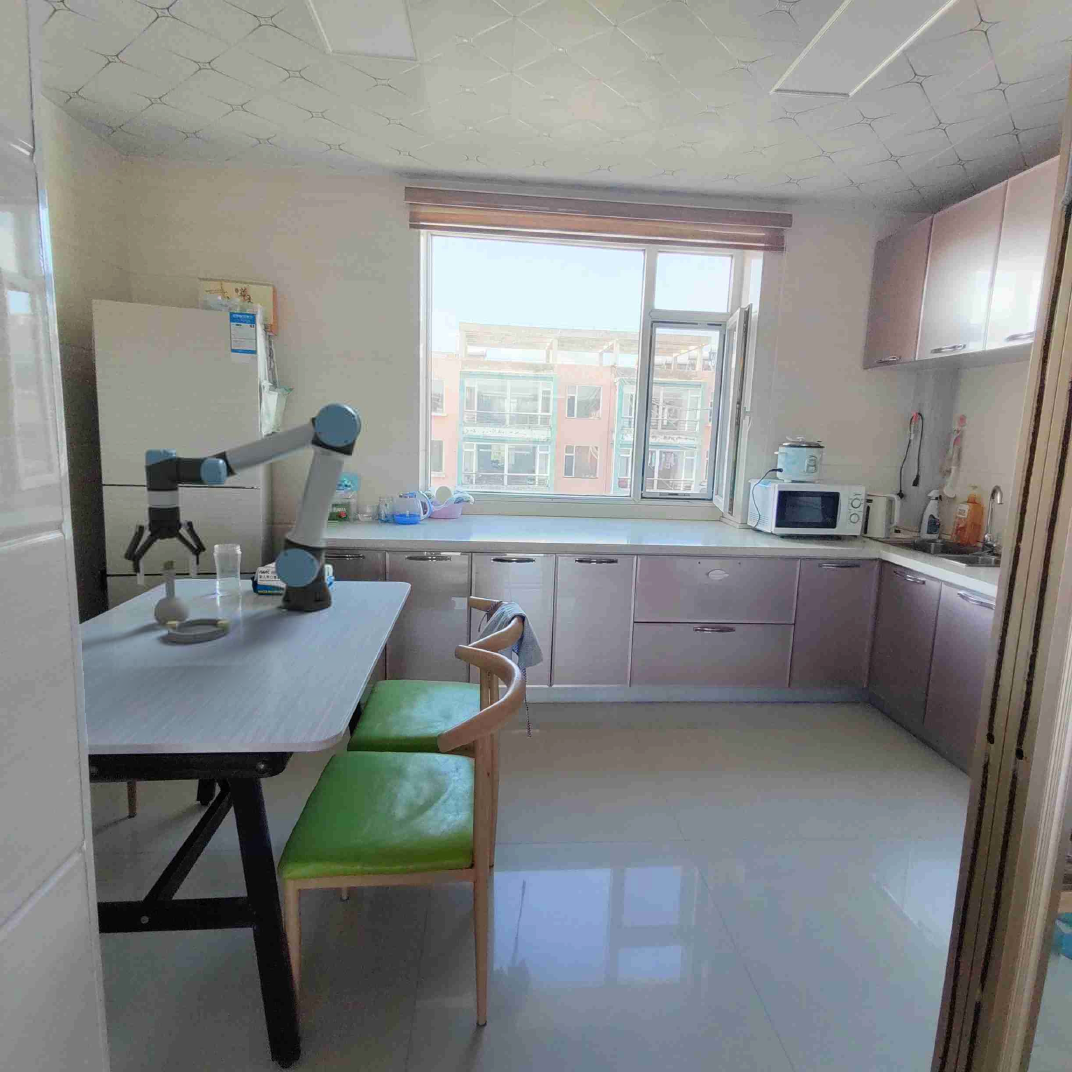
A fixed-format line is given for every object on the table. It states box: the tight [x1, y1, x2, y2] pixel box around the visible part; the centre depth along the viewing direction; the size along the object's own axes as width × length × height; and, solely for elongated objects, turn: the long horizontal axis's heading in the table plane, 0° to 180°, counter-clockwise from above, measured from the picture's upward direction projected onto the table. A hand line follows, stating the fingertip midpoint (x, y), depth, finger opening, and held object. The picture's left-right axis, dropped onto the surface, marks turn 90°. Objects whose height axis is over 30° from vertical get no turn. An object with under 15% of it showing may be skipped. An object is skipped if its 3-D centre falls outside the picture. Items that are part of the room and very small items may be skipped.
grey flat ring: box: [165, 617, 230, 644], centre depth 167 cm, size 15×15×3 cm
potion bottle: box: [153, 559, 191, 628], centre depth 174 cm, size 9×9×18 cm
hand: (168, 580), depth 173 cm, fingers open, 13 cm apart
